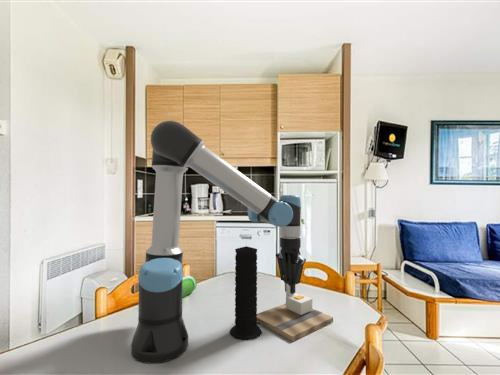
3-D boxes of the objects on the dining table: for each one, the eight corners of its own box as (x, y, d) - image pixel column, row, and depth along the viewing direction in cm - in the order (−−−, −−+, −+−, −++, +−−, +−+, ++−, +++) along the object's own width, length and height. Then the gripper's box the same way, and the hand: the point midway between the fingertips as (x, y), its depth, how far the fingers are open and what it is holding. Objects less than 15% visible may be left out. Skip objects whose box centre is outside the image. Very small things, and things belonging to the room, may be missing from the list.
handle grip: (261, 341, 81) (262, 325, 91) (261, 249, 82) (263, 243, 92) (227, 339, 82) (232, 323, 92) (227, 249, 83) (233, 243, 92)
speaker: (168, 308, 104) (168, 287, 105) (154, 304, 108) (154, 285, 108) (197, 293, 120) (197, 275, 120) (184, 290, 123) (184, 273, 123)
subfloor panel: (292, 341, 81) (292, 336, 81) (253, 319, 95) (253, 314, 95) (333, 321, 93) (333, 317, 93) (292, 304, 107) (292, 300, 107)
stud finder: (300, 315, 94) (301, 301, 94) (285, 308, 99) (285, 295, 100) (312, 310, 98) (312, 297, 98) (297, 304, 103) (297, 292, 103)
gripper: (310, 238, 100) (310, 304, 99) (284, 233, 110) (284, 294, 109) (297, 240, 95) (296, 310, 95) (270, 235, 105) (270, 298, 105)
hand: (290, 301), depth 102 cm, fingers closed
